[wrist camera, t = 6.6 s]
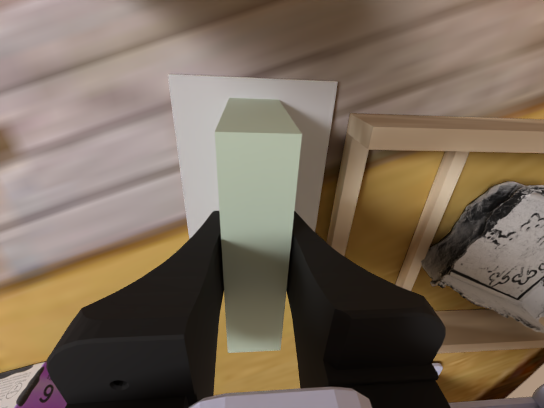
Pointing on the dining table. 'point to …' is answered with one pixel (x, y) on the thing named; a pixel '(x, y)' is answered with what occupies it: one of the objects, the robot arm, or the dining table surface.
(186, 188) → the light gray panel
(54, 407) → the candy box
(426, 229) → the birch rack
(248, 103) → the pale green block
